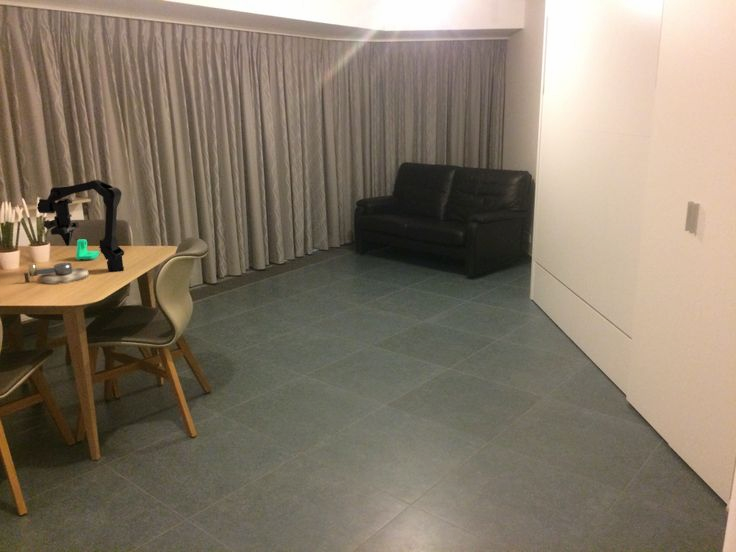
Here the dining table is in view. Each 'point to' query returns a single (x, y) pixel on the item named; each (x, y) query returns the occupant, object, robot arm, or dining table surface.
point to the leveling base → (61, 277)
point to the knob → (51, 269)
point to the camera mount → (85, 251)
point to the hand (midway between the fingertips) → (67, 245)
